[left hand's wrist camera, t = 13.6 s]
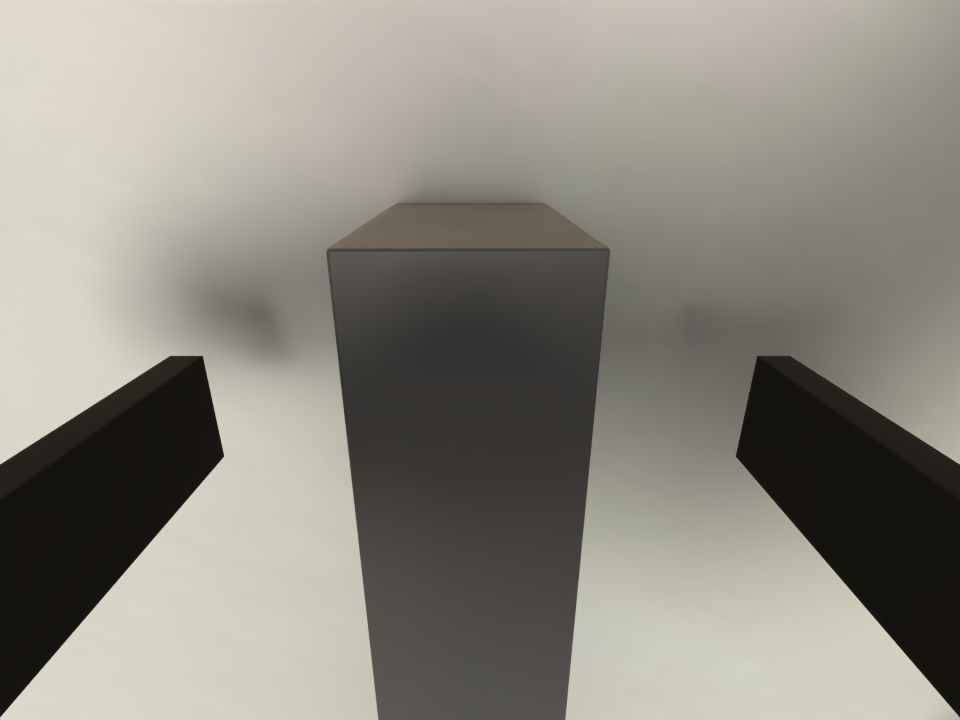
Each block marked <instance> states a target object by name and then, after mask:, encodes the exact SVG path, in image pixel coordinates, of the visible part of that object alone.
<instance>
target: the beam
mask: <svg viewBox="0 0 960 720" xmlns="http://www.w3.org/2000/svg"><path fill="white" fill-rule="evenodd" d="M326 254H327V263H328V272H329V281H330V290H331V299H332V307H333V316H334V325H335V334H336V343H337V352H338V361H339V370H340V379H341V388H342V397H343V406H344V415H345V424H346V433H347V442H348V451H349V460H350V469H351V478H352V487H353V496H354V505H355V513H356V522H357V531H358V540H359V549H360V558H361V567H362V576H363V585H364V594H365V603H366V612H367V621H368V630H369V639H370V648H371V657H372V666H373V675H374V684H375V693H376V702H377V711H378V720H565V716H566V706H567V695H568V685H569V674H570V664H571V653H572V643H573V632H574V622H575V612H576V601H577V591H578V580H579V570H580V559H581V549H582V538H583V528H584V517H585V507H586V496H587V486H588V476H589V465H590V455H591V444H592V434H593V423H594V413H595V402H596V392H597V381H598V371H599V360H600V350H601V340H602V329H603V319H604V308H605V298H606V287H607V277H608V266H609V256H610V250H609V248H607V247H606V246H604V245H603V244H601V243H600V242H599V241H597V240H596V239H594V238H593V237H591V236H590V235H589V234H587V233H586V232H584V231H583V230H581V229H580V228H579V227H577V226H576V225H574V224H573V223H571V222H570V221H569V220H567V219H566V218H564V217H563V216H562V215H560V214H559V213H557V212H556V211H554V210H553V209H552V208H550V207H549V206H547V205H546V204H395V205H393V206H392V207H390V208H389V209H387V210H386V211H384V212H383V213H381V214H380V215H378V216H377V217H375V218H374V219H372V220H371V221H369V222H368V223H366V224H365V225H363V226H362V227H360V228H359V229H357V230H356V231H354V232H353V233H351V234H350V235H348V236H347V237H345V238H344V239H342V240H340V241H339V242H337V243H336V244H334V245H333V246H331V247H330V248H328V249H327V252H326Z"/></svg>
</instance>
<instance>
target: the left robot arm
mask: <svg viewBox="0 0 960 720" xmlns="http://www.w3.org/2000/svg"><path fill="white" fill-rule="evenodd" d="M223 457H224V453H223V449H222V444H221V439H220V435H219V430H218V425H217V421H216V416H215V411H214V407H213V402H212V397H211V393H210V388H209V383H208V379H207V374H206V369H205V365H204V360H203V356H170V357H168V358H167V359H165V360H163V361H162V362H160V363H159V364H157V365H156V366H154V367H152V368H151V369H149V370H148V371H146V372H145V373H143V374H141V375H140V376H138V377H137V378H135V379H134V380H132V381H130V382H129V383H127V384H126V385H124V386H123V387H121V388H120V389H118V390H116V391H115V392H113V393H112V394H110V395H109V396H107V397H105V398H104V399H102V400H101V401H99V402H98V403H96V404H94V405H93V406H91V407H90V408H88V409H87V410H85V411H83V412H82V413H80V414H79V415H77V416H76V417H74V418H73V419H71V420H69V421H68V422H66V423H65V424H63V425H62V426H60V427H58V428H57V429H55V430H54V431H52V432H51V433H49V434H47V435H46V436H44V437H43V438H41V439H40V440H38V441H36V442H35V443H33V444H32V445H30V446H29V447H27V448H26V449H24V450H22V451H21V452H19V453H18V454H16V455H15V456H13V457H11V458H10V459H8V460H7V461H5V462H4V463H2V464H0V717H1V716H2V714H3V713H4V712H5V711H6V710H7V709H8V708H9V706H10V705H11V704H12V703H13V702H14V701H15V699H16V698H17V697H18V696H19V695H20V694H21V692H22V691H23V690H24V689H25V688H26V687H27V685H28V684H29V683H30V682H31V681H32V680H33V678H34V677H35V676H36V675H37V674H38V673H39V671H40V670H41V669H42V668H43V667H44V666H45V664H46V663H47V662H48V661H49V660H50V659H51V657H52V656H53V655H54V654H55V653H56V652H57V650H58V649H59V648H60V647H61V646H62V645H63V643H64V642H65V641H66V640H67V639H68V638H69V636H70V635H71V634H72V633H73V632H74V631H75V629H76V628H77V627H78V626H79V625H80V624H81V622H82V621H83V620H84V619H85V618H86V617H87V616H88V614H89V613H90V612H91V611H92V610H93V609H94V607H95V606H96V605H97V604H98V603H99V602H100V600H101V599H102V598H103V597H104V596H105V595H106V593H107V592H108V591H109V590H110V589H111V588H112V586H113V585H114V584H115V583H116V582H117V581H118V579H119V578H120V577H121V576H122V575H123V574H124V572H125V571H126V570H127V569H128V568H129V567H130V565H131V564H132V563H133V562H134V561H135V560H136V558H137V557H138V556H139V555H140V554H141V553H142V551H143V550H144V549H145V548H146V547H147V546H148V544H149V543H150V542H151V541H152V540H153V539H154V537H155V536H156V535H157V534H158V533H159V532H160V530H161V529H162V528H163V527H164V526H165V525H166V524H167V522H168V521H169V520H170V519H171V518H172V517H173V515H174V514H175V513H176V512H177V511H178V510H179V508H180V507H181V506H182V505H183V504H184V503H185V501H186V500H187V499H188V498H189V497H190V496H191V494H192V493H193V492H194V491H195V490H196V489H197V487H198V486H199V485H200V484H201V483H202V482H203V480H204V479H205V478H206V477H207V476H208V475H209V473H210V472H211V471H212V470H213V469H214V468H215V466H216V465H217V464H218V463H219V462H220V461H221V459H222V458H223ZM736 457H737V458H738V459H739V461H740V462H741V463H742V464H743V465H744V466H745V468H746V469H747V470H748V471H749V472H750V473H751V475H752V476H753V477H754V478H755V479H756V480H757V482H758V483H759V484H760V485H761V486H762V487H763V489H764V490H765V491H766V492H767V493H768V494H769V496H770V497H771V498H772V499H773V500H774V501H775V503H776V504H777V505H778V506H779V507H780V508H781V510H782V511H783V512H784V513H785V514H786V515H787V517H788V518H789V519H790V520H791V521H792V522H793V524H794V525H795V526H796V527H797V528H798V529H799V530H800V532H801V533H802V534H803V535H804V536H805V537H806V539H807V540H808V541H809V542H810V543H811V544H812V546H813V547H814V548H815V549H816V550H817V551H818V553H819V554H820V555H821V556H822V557H823V558H824V560H825V561H826V562H827V563H828V564H829V565H830V567H831V568H832V569H833V570H834V571H835V572H836V574H837V575H838V576H839V577H840V578H841V579H842V581H843V582H844V583H845V584H846V585H847V586H848V588H849V589H850V590H851V591H852V592H853V593H854V595H855V596H856V597H857V598H858V599H859V600H860V602H861V603H862V604H863V605H864V606H865V607H866V609H867V610H868V611H869V612H870V613H871V614H872V616H873V617H874V618H875V619H876V620H877V621H878V622H879V624H880V625H881V626H882V627H883V628H884V629H885V631H886V632H887V633H888V634H889V635H890V636H891V638H892V639H893V640H894V641H895V642H896V643H897V645H898V646H899V647H900V648H901V649H902V650H903V652H904V653H905V654H906V655H907V656H908V657H909V659H910V660H911V661H912V662H913V663H914V664H915V666H916V667H917V668H918V669H919V670H920V671H921V673H922V674H923V675H924V676H925V677H926V678H927V680H928V681H929V682H930V683H931V684H932V685H933V687H934V688H935V689H936V690H937V691H938V692H939V694H940V695H941V696H942V697H943V698H944V699H945V701H946V702H947V703H948V704H949V705H950V706H951V708H952V709H953V710H954V711H955V712H956V713H957V714H958V716H959V717H960V464H958V463H956V462H955V461H953V460H952V459H950V458H949V457H947V456H945V455H944V454H942V453H941V452H939V451H938V450H936V449H934V448H933V447H931V446H930V445H928V444H927V443H925V442H924V441H922V440H920V439H919V438H917V437H916V436H914V435H913V434H911V433H909V432H908V431H906V430H905V429H903V428H902V427H900V426H898V425H897V424H895V423H894V422H892V421H891V420H889V419H887V418H886V417H884V416H883V415H881V414H880V413H878V412H877V411H875V410H873V409H872V408H870V407H869V406H867V405H866V404H864V403H862V402H861V401H859V400H858V399H856V398H855V397H853V396H851V395H850V394H848V393H847V392H845V391H844V390H842V389H840V388H839V387H837V386H836V385H834V384H833V383H831V382H830V381H828V380H826V379H825V378H823V377H822V376H820V375H819V374H817V373H815V372H814V371H812V370H811V369H809V368H808V367H806V366H804V365H803V364H801V363H800V362H798V361H797V360H795V359H793V358H792V357H790V356H757V360H756V365H755V369H754V374H753V379H752V383H751V388H750V393H749V397H748V402H747V407H746V411H745V416H744V421H743V425H742V430H741V435H740V439H739V444H738V449H737V453H736Z"/></svg>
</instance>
